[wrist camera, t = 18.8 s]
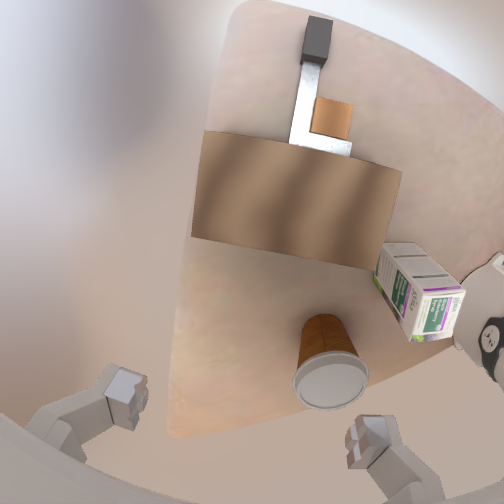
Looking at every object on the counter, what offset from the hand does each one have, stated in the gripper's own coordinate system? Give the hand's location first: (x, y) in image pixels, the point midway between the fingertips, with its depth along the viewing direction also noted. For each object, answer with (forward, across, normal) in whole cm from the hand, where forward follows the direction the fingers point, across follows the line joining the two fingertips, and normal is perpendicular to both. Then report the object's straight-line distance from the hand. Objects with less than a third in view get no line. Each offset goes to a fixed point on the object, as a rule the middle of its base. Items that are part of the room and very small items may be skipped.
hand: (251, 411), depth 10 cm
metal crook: (+29, +3, +17) cm, 34 cm away
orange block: (+29, +4, +13) cm, 32 cm away
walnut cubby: (+29, +1, +4) cm, 30 cm away
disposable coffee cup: (+30, +11, -16) cm, 35 cm away
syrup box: (+30, +17, -3) cm, 35 cm away
